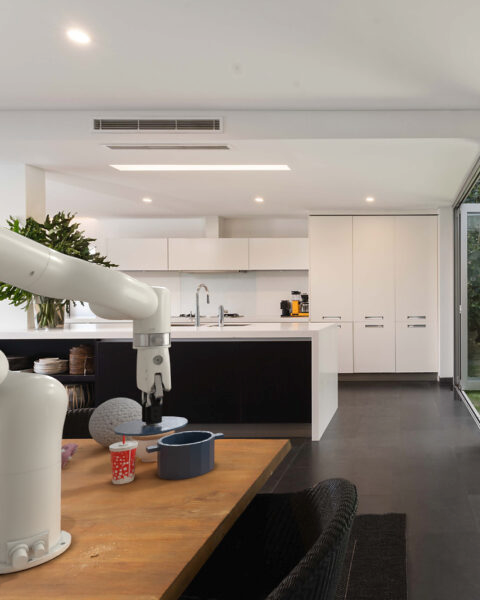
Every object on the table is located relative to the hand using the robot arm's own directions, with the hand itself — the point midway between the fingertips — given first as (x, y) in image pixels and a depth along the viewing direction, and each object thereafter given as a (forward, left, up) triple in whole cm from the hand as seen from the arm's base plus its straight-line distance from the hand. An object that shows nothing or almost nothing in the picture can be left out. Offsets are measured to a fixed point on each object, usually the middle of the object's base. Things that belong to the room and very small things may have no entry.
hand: (151, 421), depth 101 cm
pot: (+14, -12, -17) cm, 25 cm away
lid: (0, 0, -1) cm, 1 cm away
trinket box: (+30, -8, -18) cm, 36 cm away
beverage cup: (+17, +2, -18) cm, 25 cm away
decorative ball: (+50, -3, -18) cm, 53 cm away
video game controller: (+40, +12, -18) cm, 45 cm away
